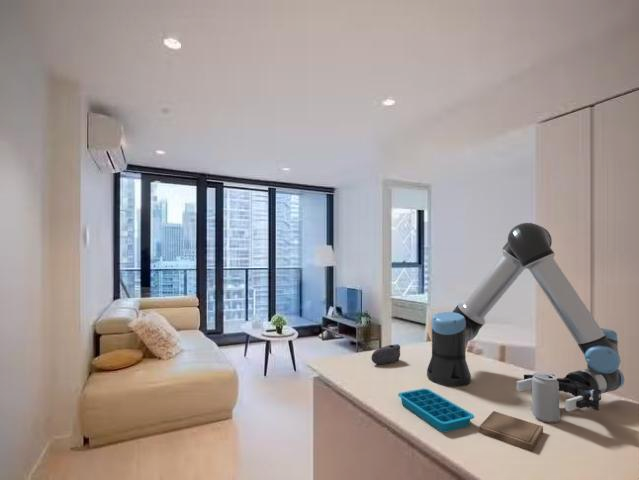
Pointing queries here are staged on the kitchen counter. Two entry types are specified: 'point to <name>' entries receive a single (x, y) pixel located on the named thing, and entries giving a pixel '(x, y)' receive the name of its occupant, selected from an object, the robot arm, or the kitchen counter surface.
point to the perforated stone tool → (386, 354)
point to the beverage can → (545, 397)
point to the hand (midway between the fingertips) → (540, 395)
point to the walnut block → (512, 430)
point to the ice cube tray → (436, 409)
